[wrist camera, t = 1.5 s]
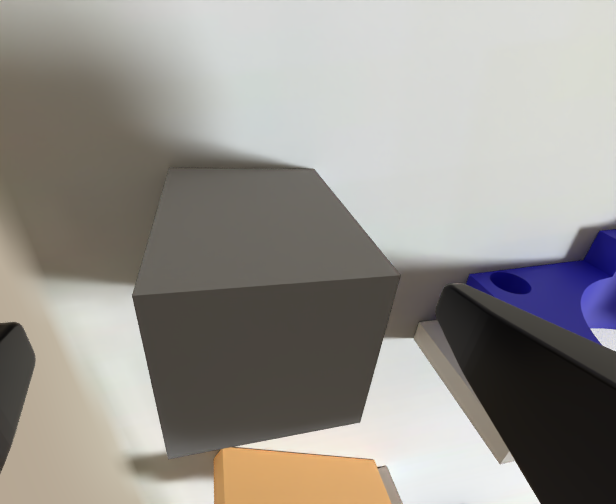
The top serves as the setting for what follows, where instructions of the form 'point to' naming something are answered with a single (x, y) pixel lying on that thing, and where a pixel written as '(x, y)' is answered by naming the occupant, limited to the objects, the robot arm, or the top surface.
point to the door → (295, 479)
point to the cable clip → (562, 289)
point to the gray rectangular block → (258, 307)
